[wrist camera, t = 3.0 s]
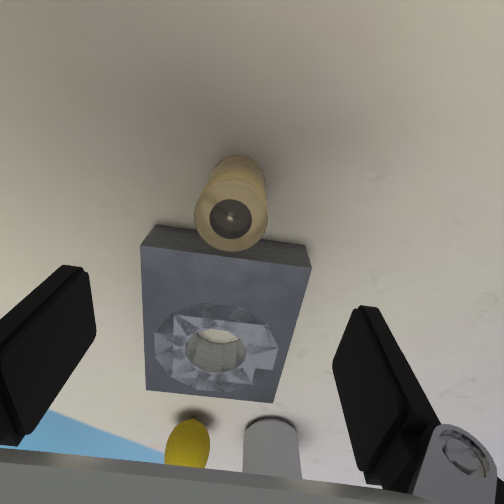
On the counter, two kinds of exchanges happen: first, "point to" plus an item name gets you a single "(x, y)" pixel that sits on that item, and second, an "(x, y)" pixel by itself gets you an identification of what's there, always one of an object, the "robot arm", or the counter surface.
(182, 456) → the lemon
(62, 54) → the counter surface
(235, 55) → the counter surface
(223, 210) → the cylinder
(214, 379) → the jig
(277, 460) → the can
